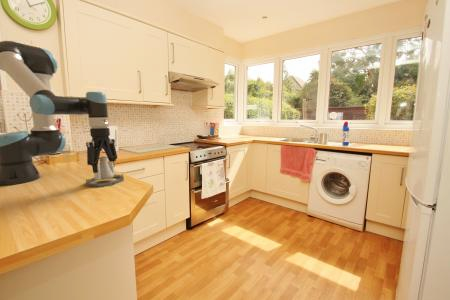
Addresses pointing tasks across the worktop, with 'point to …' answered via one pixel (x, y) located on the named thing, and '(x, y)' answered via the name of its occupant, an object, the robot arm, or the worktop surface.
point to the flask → (105, 169)
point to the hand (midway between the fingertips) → (105, 176)
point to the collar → (88, 182)
